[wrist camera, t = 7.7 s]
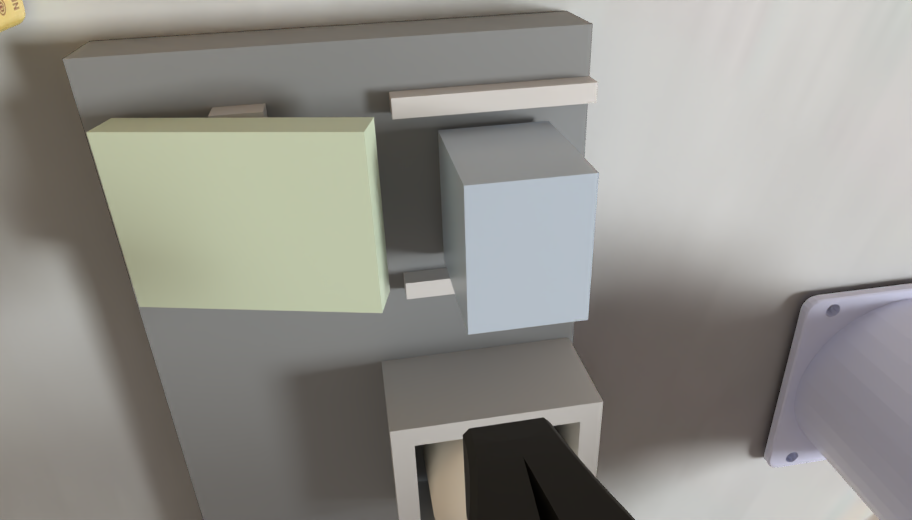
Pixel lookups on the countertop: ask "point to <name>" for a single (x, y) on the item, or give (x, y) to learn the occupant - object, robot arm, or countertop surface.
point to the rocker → (247, 211)
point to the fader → (517, 225)
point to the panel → (408, 257)
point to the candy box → (11, 13)
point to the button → (446, 479)
